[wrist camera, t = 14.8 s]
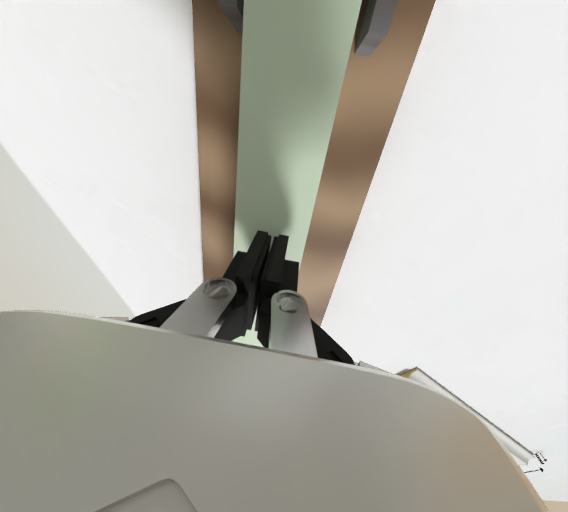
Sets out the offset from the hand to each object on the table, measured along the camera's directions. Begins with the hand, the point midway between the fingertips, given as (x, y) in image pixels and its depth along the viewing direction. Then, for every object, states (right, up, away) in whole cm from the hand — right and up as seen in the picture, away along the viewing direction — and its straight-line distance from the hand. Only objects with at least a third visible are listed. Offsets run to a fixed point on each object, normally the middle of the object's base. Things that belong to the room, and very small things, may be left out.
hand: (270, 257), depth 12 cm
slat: (0, +3, +5) cm, 6 cm away
